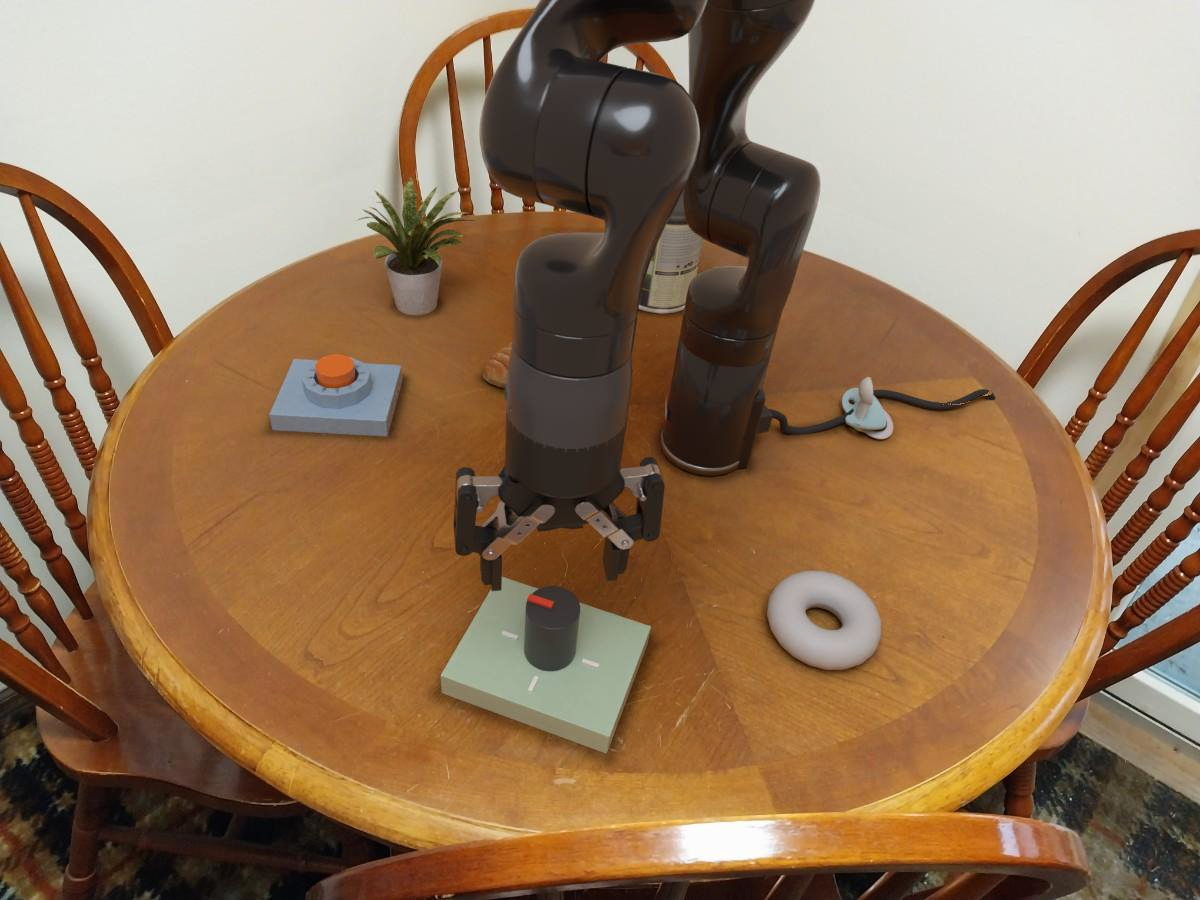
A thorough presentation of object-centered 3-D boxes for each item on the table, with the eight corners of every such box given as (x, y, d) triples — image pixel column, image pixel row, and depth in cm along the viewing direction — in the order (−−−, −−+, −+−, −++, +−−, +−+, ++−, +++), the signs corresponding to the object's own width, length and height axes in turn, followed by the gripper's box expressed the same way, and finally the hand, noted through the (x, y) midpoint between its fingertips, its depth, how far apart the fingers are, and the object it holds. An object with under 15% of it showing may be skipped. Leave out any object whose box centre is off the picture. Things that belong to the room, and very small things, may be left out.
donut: (839, 700, 70) (895, 629, 76) (851, 677, 68) (907, 606, 74) (741, 630, 75) (800, 568, 81) (748, 606, 73) (809, 544, 79)
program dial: (583, 637, 70) (588, 593, 66) (564, 678, 67) (569, 634, 63) (535, 621, 71) (538, 576, 67) (515, 661, 67) (517, 616, 64)
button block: (402, 380, 98) (400, 352, 95) (387, 436, 90) (384, 407, 87) (296, 374, 97) (291, 345, 94) (272, 430, 89) (265, 400, 87)
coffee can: (610, 303, 114) (620, 205, 105) (631, 269, 122) (643, 174, 112) (683, 321, 112) (701, 223, 103) (701, 285, 120) (718, 190, 110)
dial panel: (647, 643, 73) (651, 624, 71) (606, 754, 65) (609, 735, 63) (498, 593, 76) (498, 574, 74) (441, 693, 68) (440, 674, 66)
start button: (359, 368, 93) (357, 355, 92) (351, 390, 90) (349, 377, 89) (322, 366, 92) (319, 352, 91) (313, 388, 89) (310, 374, 88)
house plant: (420, 354, 102) (412, 229, 91) (333, 316, 106) (315, 192, 95) (490, 304, 111) (490, 186, 101) (407, 271, 116) (399, 154, 105)
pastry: (502, 401, 96) (502, 374, 94) (470, 371, 100) (470, 344, 98) (568, 375, 101) (570, 348, 99) (535, 348, 105) (536, 321, 102)
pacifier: (885, 408, 102) (836, 401, 102) (903, 366, 98) (852, 358, 98) (896, 447, 96) (844, 440, 96) (916, 405, 92) (862, 397, 92)
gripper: (453, 451, 48) (459, 627, 58) (694, 438, 51) (658, 608, 61) (446, 373, 53) (452, 547, 64) (664, 365, 56) (635, 533, 67)
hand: (553, 577), depth 63 cm, fingers open, 8 cm apart
